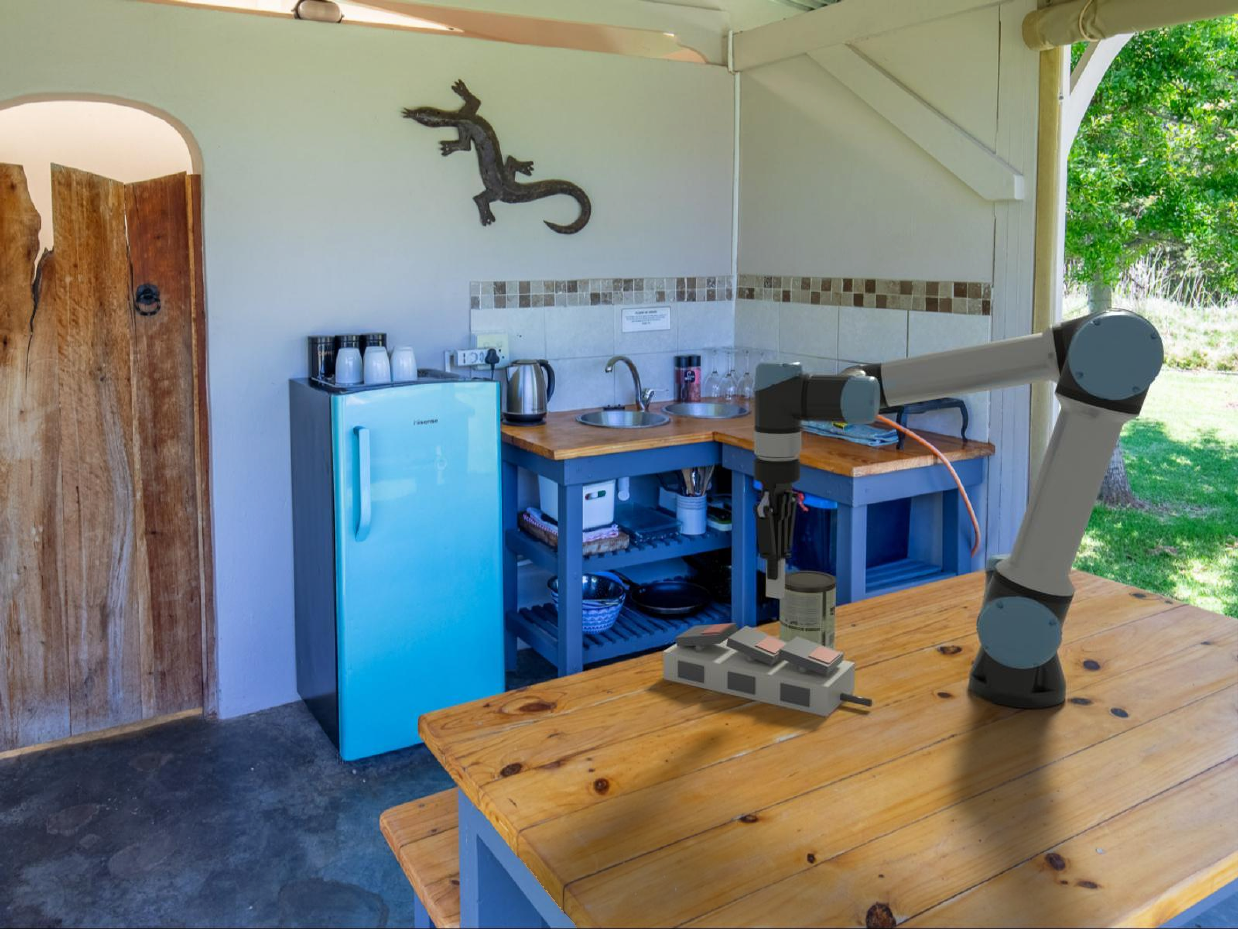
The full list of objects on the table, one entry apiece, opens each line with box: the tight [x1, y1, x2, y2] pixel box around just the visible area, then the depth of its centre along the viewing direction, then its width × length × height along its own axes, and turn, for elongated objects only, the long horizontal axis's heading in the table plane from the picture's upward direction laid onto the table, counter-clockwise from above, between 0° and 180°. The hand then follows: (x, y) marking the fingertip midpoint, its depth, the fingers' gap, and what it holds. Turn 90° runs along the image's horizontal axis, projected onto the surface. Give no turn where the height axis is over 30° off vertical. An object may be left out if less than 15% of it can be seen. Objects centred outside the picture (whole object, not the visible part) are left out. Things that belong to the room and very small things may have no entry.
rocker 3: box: [778, 636, 845, 676], centre depth 173 cm, size 8×7×2 cm
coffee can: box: [778, 570, 838, 650], centre depth 193 cm, size 10×10×14 cm
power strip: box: [662, 639, 873, 717], centre depth 178 cm, size 35×12×6 cm, turn 57°
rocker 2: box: [726, 625, 787, 665], centre depth 178 cm, size 8×7×2 cm
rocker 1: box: [674, 622, 739, 647], centre depth 183 cm, size 8×7×2 cm
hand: (775, 596), depth 175 cm, fingers closed
